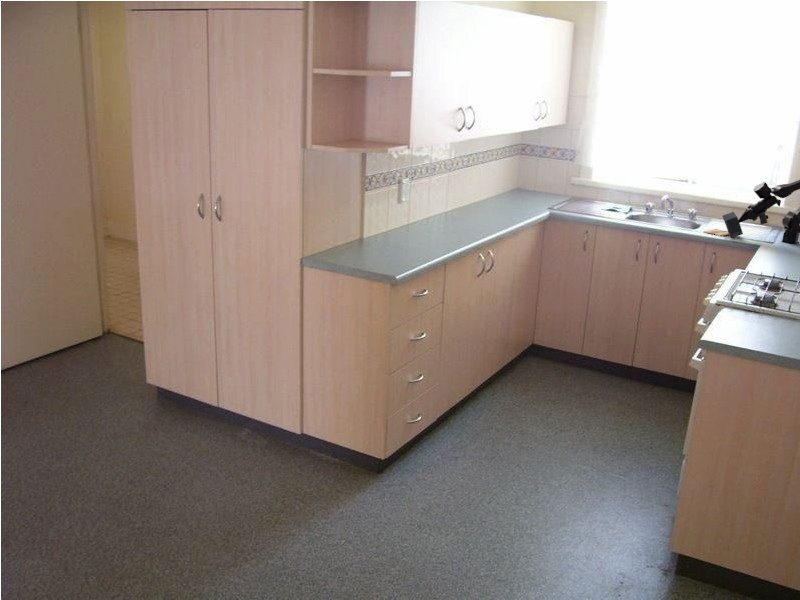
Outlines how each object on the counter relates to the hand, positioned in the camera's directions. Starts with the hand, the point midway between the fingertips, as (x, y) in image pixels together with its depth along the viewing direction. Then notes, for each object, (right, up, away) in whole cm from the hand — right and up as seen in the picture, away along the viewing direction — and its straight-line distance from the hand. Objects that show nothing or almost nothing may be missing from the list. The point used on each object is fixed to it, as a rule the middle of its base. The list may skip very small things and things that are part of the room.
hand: (738, 222), depth 415 cm
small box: (+1, -6, +4) cm, 7 cm away
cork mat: (-5, -5, +12) cm, 14 cm away
